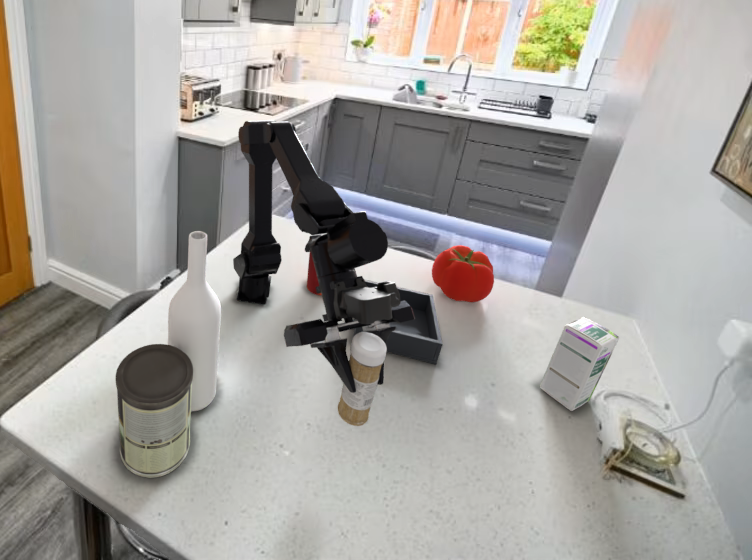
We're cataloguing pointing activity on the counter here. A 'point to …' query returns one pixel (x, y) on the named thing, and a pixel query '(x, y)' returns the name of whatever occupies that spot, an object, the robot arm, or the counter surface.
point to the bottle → (197, 323)
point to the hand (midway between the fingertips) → (366, 388)
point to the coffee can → (154, 409)
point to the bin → (414, 328)
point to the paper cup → (312, 276)
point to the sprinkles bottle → (362, 377)
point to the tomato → (463, 274)
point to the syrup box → (578, 362)
